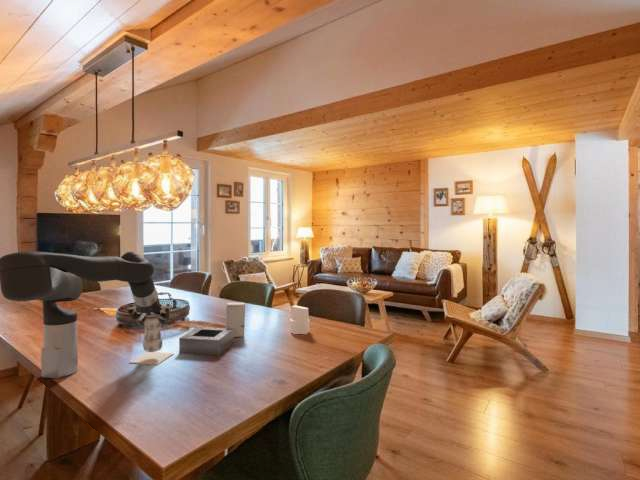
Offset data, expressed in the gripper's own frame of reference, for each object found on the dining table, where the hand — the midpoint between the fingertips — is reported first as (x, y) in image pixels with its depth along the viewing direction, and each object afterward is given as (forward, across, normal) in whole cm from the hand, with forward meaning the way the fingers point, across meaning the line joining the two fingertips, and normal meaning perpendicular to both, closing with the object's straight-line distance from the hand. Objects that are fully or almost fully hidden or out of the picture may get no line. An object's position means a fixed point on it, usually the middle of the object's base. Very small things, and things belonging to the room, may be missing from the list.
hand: (153, 322), depth 138 cm
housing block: (+15, +19, -4) cm, 24 cm away
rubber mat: (+9, 0, -10) cm, 13 cm away
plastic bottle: (+6, 0, -9) cm, 11 cm away
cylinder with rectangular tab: (+26, +59, +7) cm, 65 cm away
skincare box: (+26, +30, +7) cm, 40 cm away
